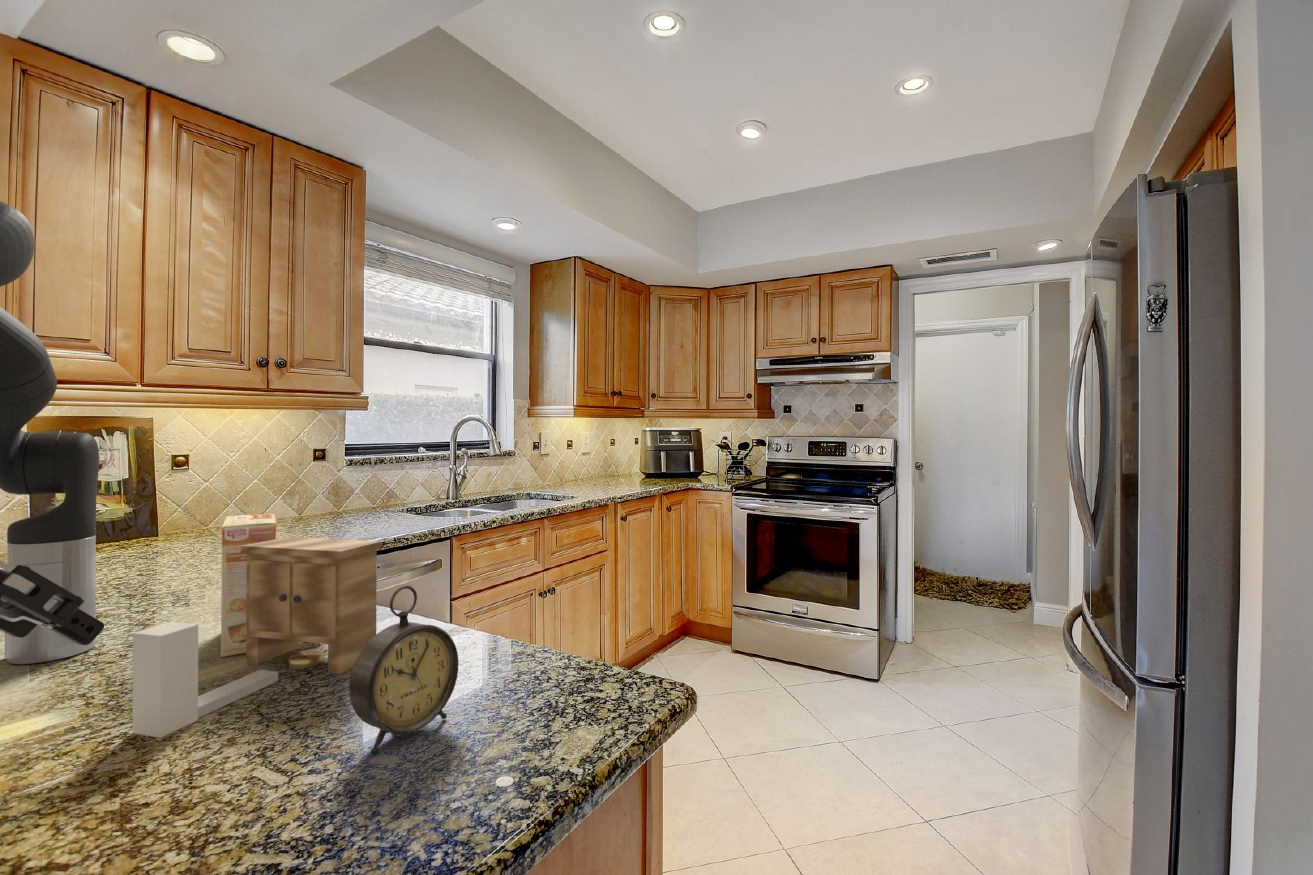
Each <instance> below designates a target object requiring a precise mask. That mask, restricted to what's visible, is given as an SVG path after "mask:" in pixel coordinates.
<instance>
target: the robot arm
mask: <svg viewBox="0 0 1313 875" xmlns="http://www.w3.org/2000/svg"><path fill="white" fill-rule="evenodd" d="M32 227H33V226H32V225H31V224H30V222H29V220H28V218H27V217H26V216H25V215H24V214H23V213H22V212H20V211H19V210H18V209H17V208H15V207H14V206H11V205H9V204H8V203H5V202H2V201H0V288H1V287H4V286H6V285H8V284H11V283H13V282H15V281H16V280H18V279H19V278H20V277H21V276H23V274H24V273H25V272H26V271H27V270H28V269H29V267H30V265H31V263H32V260H33V257H34V253H35V236H34V230H33V228H32ZM57 388H58V378H57V376H56V373H55V370H54V368H53V365H52V362H51V359H50V356H49V353H48V351H47V349H46V347H45V345H44V344H43V342H42V341H41V340H40V338H39V337H38V336H37V335H36V334H35V333H34V332H33V331H32V330H31V329H30V328H29V327H27V326H26V325H25V324H24V323H23V322H21V320H19V319H17V318H16V317H15V316H14V315H13V314H11V313H9V312H8V311H7V310H6V309H4V308H3V307H1V306H0V489H1V490H2V491H3V492H5V493H7V494H11V495H21V496H23V495H24V496H25V495H27V496H28V495H29V496H30V495H51V494H52V495H53V494H55V495H56V494H65V495H64V498H63V501H62V502H61V503H60V504H59V505H57V506H56V507H53V508H52V509H50V510H47V511H45V512H42V513H40V514H36V515H34V516H29V517H26V518H22V519H20V520H16V521H13V522H12V523H11V524H9V525H8V528H7V533H6V536H7V537H6V542H7V543H6V544H7V546H6V547H7V549H6V550H7V552H6V556H7V557H6V562H4V561H1V560H0V631H2V632H4V658H6V663H9V664H13V665H29V664H30V665H31V664H38V663H44V662H50V661H55V660H60V659H65V658H68V657H72V656H76V655H79V654H82V653H84V652H87V651H90V650H92V649H93V648H95V646H96V638H97V637H98V636H99V634H100V633H101V632H102V631H103V630H104V628H105V624H104V622H102V621H100V620H99V619H97V617H96V616H97V615H96V610H97V609H96V605H97V604H96V603H97V602H96V600H97V598H96V593H97V592H96V591H97V588H96V583H97V581H96V580H97V578H96V574H97V572H96V571H97V570H96V568H97V566H96V565H97V560H96V559H97V558H96V557H97V555H96V554H97V553H96V543H97V541H96V540H97V536H96V534H97V532H96V531H97V528H96V527H97V526H96V525H97V524H96V523H97V497H98V496H97V495H98V494H97V492H98V481H99V468H100V450H99V449H100V448H99V444H98V442H97V440H96V439H95V437H94V436H93V435H91V434H89V433H85V432H28V431H23V430H22V429H23V428H24V427H25V426H26V424H29V422H31V421H32V420H33V419H34V418H35V417H36V416H37V415H38V414H39V413H41V412H42V410H43V411H44V409H45V408H46V407H47V406H48V405H49V403H50V402H51V400H52V399H53V398H54V396H55V394H56V391H57Z"/></svg>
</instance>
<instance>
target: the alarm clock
mask: <svg viewBox="0 0 1313 875" xmlns="http://www.w3.org/2000/svg"><path fill="white" fill-rule="evenodd" d="M406 589H408V590H410V591H411V592H412V594H413V598H414V599H413V603H412V606H410V608H409V610H408V611H407V610H401V611H399V613H397V612H396V611H395V609H394V606H393V605H394V600H395V598H396V596H397V594H398V593H399V592H401V591H402V590H406ZM417 600H418V594H417V591H416V589H415V588H414V587H412V586H411V585H402V586H400V587H399V588H397V589H396V590H395V591H394V592H393V594H392V595H391V597H390V601H389V609H390V612H391V613H392V614H394V616H396V617H398V618H399V623H397V622H396V623H394V624H392V625H389V626H387V627H385V628H384V629H382V630H380V631H379V632H378V633H376V635H375V636H374V637H373V638H372V639H371V640H370V641H369V642H368V643H367V644H366V646H365V647H364V648H363V650H362V651H361V653H360V654H359V656H358V658H357V660H356V662H355V664H354V667H353V668H352V669H351V674H350V679H349V699H350V704H351V706H352V709H353V711H354V713H355V714H356V716H357V717H358V718H360V720H361V721H362V722H363V723H365V724H367V725H369V726H371V727H373V728H374V727H375V728H376V729H379V732H378V734H377V736H376V739H375V742H374V746H373V747H372V748H371V750H370V753H371V754H372V755H376V754H377V753H378V748H379V746H380V745H381V744H382V742H383V741H384V738H385V736H386V734H389V733H390V734H394V735H406V734H411V733H414V732H416V731H418V730H421V729H422V728H424V727H425V726H427V725H429V724H430V723H431V722H433V720H434V719H436V718H437V716H440V717H441V720H446V719H447V713H446V712H444V711H443V709H444V708H445V706H446V705H447V703H448V702H449V699H450V698H451V696H452V695H453V692H454V689H455V687H456V684H457V679H458V673H459V663H460V662H459V654H458V649H457V646H456V644H455V642H454V640H453V638H452V637H451V635H450V634H449V633H448V632H447V631H445V630H444V629H443V628H441V627H439V626H436V625H433V624H423V623H419V622H411V621H409V620H408V616H409V614H410V613H411V612H413V610H414V609H415V607H416V606H417V605H416V604H417Z"/></svg>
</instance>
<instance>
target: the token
mask: <svg viewBox="0 0 1313 875" xmlns="http://www.w3.org/2000/svg"><path fill="white" fill-rule="evenodd" d="M323 661H324V662H325V650H323V649H319V648H313V649H306V650H305V649H303V650H300V651H297V652H295V653H292V654H290V655H289V656H288V667H289V668H291V669H296V670H299V669H307V668H313V667H316V666H318V664H319V665H321V664H322V663H324V662H323ZM320 663H321V664H320Z"/></svg>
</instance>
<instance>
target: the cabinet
mask: <svg viewBox="0 0 1313 875" xmlns="http://www.w3.org/2000/svg"><path fill="white" fill-rule="evenodd" d="M382 542H383V541H382V540H381V541H379V540H365V539H364V540H363V539H362V540H361V539H340V538H323V537H322V538H321V537H320V538H319V537H318V538H317V537H303V536H302V537H301V536H300V537H299V536H286V537H285V536H284V537H280V538H276V539H275V540H269V541H264V542H259V543H254V544H248V545H243V546H241V553H247V649H246V653H245V654H246V661H245V662H246V664H247V665H253V666H255V665H256V666H259V665H261V664H263V663H265V662H268V660H269V661H270V659H271V660H273V659H275V657H276V658H277V656H278V657H281V656H282V655H283V656H284V655H285V654H287V652H288V653H289V651H290V652H292V651H295V650H296V649H300V645H299V644H300V643H299V642H301V643H302V642H303V643H304V642H305V643H313V644H322V645H323V644H324V645H327V652H328V653H327V673H328V674H333V675H342V674H344V673H346V672H348V671H350V670H353V667H354V664H355V662H356V660H357V658H358V656H359V654H360V653H361V651H362V650H363V648H364V647H365V646H366V644H367V643H368V642H369V641H370V640H371V639H372V638H373V637H374V636H375V635H376V634H377V586H378V585H377V571H378V568H377V564H378V562H377V558H378V555H377V550H379V549H382V548H383V543H382Z"/></svg>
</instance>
